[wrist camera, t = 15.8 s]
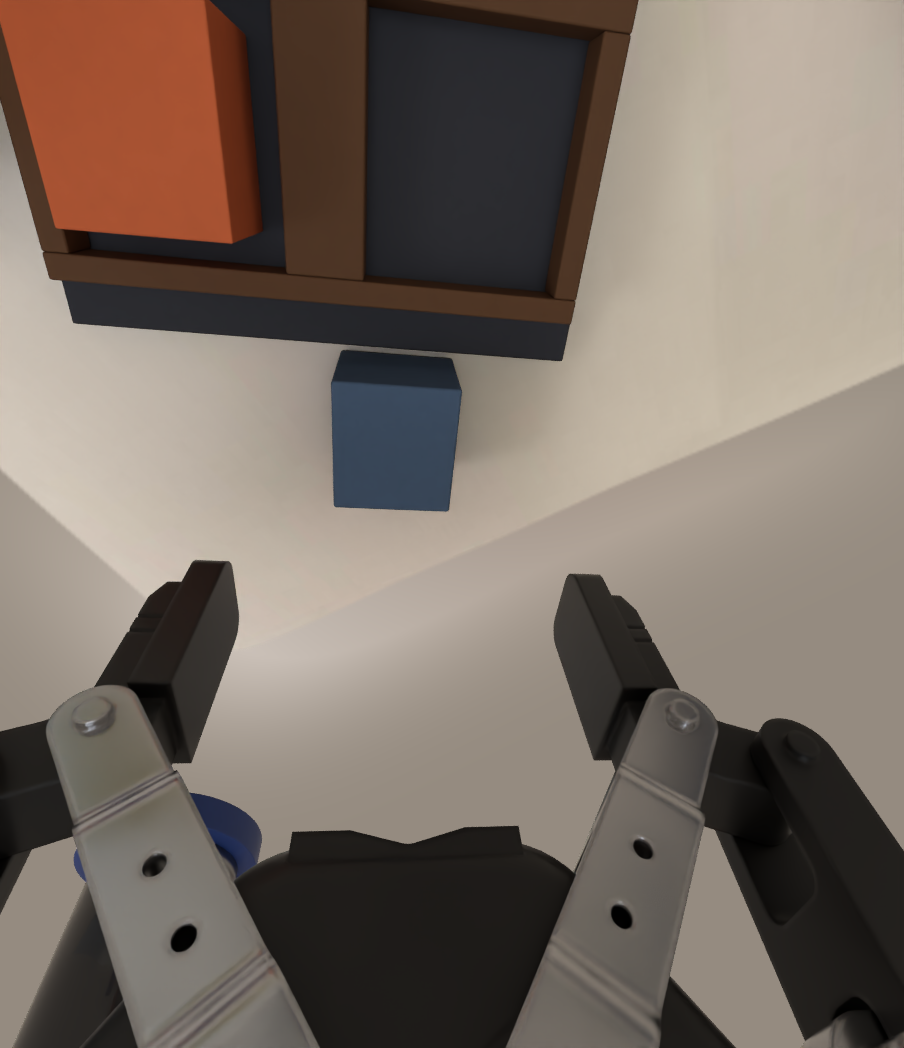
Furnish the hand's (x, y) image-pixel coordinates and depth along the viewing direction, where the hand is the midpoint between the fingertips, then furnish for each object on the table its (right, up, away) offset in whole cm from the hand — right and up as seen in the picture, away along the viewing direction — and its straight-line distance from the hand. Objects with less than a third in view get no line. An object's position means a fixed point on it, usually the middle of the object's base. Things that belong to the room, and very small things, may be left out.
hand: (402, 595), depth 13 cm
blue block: (-1, +7, +10) cm, 12 cm away
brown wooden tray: (-3, +14, +5) cm, 15 cm away
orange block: (-7, +14, +3) cm, 16 cm away
